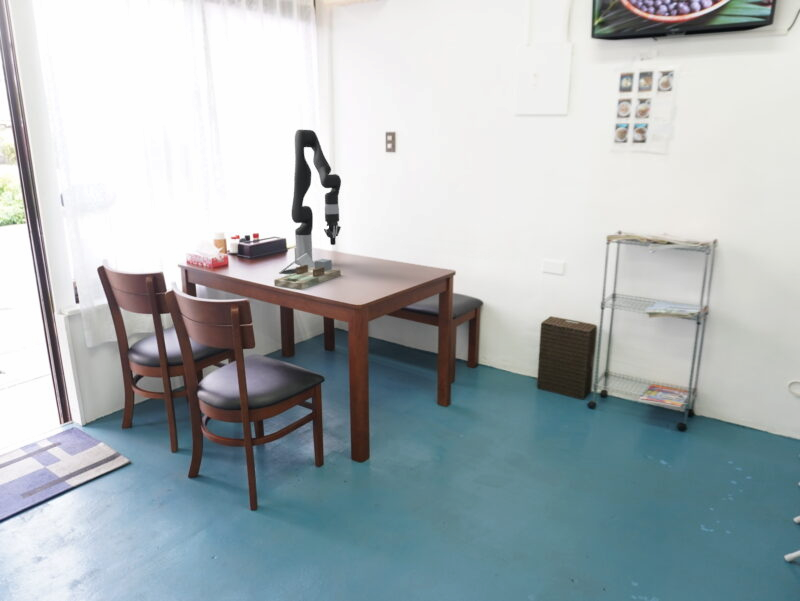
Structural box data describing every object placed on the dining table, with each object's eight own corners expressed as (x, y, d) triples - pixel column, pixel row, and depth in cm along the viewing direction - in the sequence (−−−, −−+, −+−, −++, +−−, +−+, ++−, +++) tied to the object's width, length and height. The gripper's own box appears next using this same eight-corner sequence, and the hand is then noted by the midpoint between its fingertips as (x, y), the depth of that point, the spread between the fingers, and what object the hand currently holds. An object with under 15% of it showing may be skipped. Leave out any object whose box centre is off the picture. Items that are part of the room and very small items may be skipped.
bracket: (306, 252, 323) (296, 259, 304) (317, 266, 324) (308, 274, 305) (289, 265, 326) (278, 273, 307) (299, 279, 327) (290, 287, 308)
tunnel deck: (274, 285, 281) (273, 272, 279) (316, 271, 311) (315, 260, 309) (300, 289, 274) (300, 276, 272) (340, 275, 304) (340, 263, 302)
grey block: (314, 270, 301) (314, 261, 300) (322, 267, 307) (322, 258, 305) (324, 271, 298) (323, 262, 297) (331, 269, 304) (331, 259, 303)
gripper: (333, 211, 310) (334, 242, 315) (319, 213, 299) (320, 246, 303) (344, 211, 307) (345, 243, 311) (330, 214, 296) (331, 247, 300)
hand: (333, 244), depth 307 cm, fingers closed
